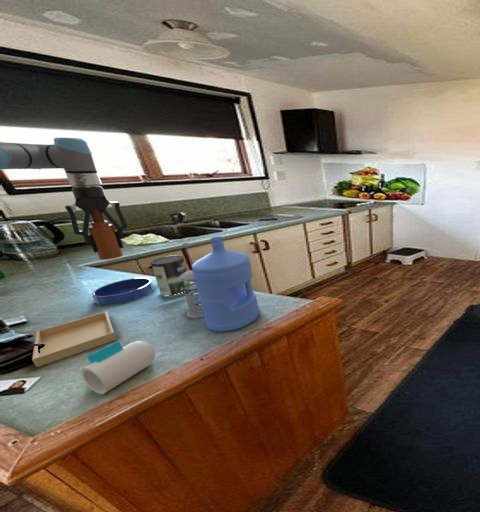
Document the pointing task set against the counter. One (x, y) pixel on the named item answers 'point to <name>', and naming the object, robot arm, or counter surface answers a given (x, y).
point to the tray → (72, 338)
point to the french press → (194, 307)
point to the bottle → (104, 237)
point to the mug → (116, 364)
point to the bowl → (122, 291)
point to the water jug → (225, 288)
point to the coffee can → (170, 275)
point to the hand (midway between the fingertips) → (108, 249)
